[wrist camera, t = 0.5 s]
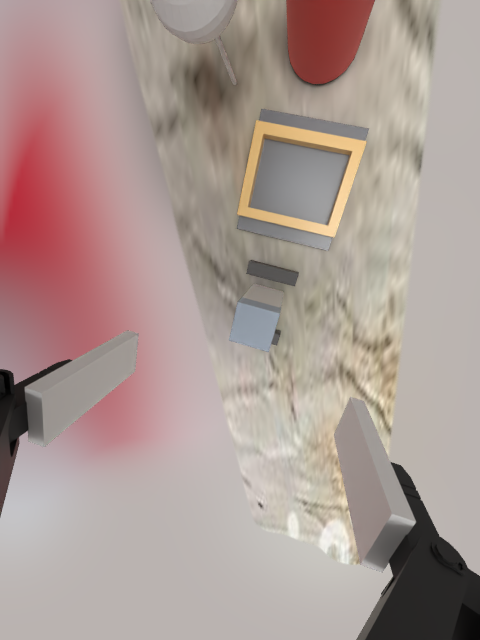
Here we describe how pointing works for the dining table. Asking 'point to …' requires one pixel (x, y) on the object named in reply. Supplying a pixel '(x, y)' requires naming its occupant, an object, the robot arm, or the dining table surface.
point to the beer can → (325, 36)
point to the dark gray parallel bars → (272, 274)
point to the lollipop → (197, 21)
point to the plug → (257, 317)
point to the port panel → (299, 177)
